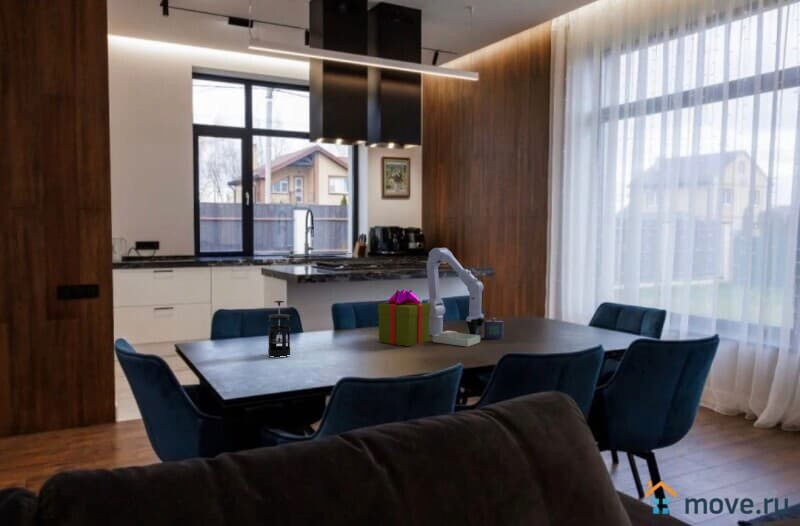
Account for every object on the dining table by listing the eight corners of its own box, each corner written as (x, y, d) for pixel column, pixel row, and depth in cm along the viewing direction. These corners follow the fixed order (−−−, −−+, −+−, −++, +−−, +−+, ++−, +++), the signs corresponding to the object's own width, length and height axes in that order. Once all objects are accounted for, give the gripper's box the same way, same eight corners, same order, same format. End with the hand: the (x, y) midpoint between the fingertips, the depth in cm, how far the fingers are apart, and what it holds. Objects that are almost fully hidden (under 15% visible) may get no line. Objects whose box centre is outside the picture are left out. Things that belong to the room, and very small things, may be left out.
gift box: (393, 336, 285) (393, 286, 283) (432, 340, 276) (433, 288, 274) (374, 344, 266) (374, 290, 265) (415, 348, 257) (416, 292, 256)
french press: (295, 356, 238) (295, 301, 237) (274, 359, 233) (274, 303, 231) (282, 351, 248) (282, 298, 246) (262, 354, 242) (261, 300, 241)
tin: (468, 338, 276) (468, 325, 276) (472, 337, 280) (472, 324, 280) (476, 339, 274) (477, 326, 273) (481, 338, 277) (481, 325, 277)
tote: (432, 342, 270) (432, 335, 269) (446, 338, 281) (446, 331, 280) (467, 347, 259) (467, 339, 259) (480, 343, 270) (480, 335, 270)
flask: (502, 338, 281) (503, 317, 281) (503, 340, 278) (504, 318, 278) (483, 338, 282) (484, 317, 281) (484, 339, 279) (484, 317, 278)
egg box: (439, 341, 271) (439, 332, 270) (447, 338, 277) (447, 330, 277) (448, 342, 268) (448, 334, 268) (456, 339, 274) (457, 331, 274)
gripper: (476, 308, 268) (475, 337, 268) (489, 305, 280) (489, 333, 280) (462, 307, 272) (462, 336, 272) (476, 304, 284) (475, 331, 284)
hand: (474, 334), depth 277 cm, fingers closed on tin, 4 cm apart
